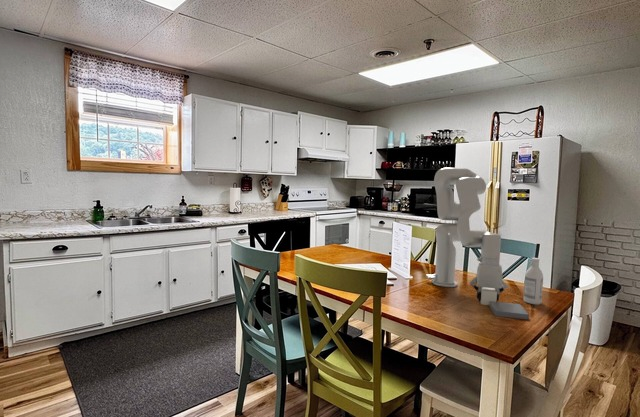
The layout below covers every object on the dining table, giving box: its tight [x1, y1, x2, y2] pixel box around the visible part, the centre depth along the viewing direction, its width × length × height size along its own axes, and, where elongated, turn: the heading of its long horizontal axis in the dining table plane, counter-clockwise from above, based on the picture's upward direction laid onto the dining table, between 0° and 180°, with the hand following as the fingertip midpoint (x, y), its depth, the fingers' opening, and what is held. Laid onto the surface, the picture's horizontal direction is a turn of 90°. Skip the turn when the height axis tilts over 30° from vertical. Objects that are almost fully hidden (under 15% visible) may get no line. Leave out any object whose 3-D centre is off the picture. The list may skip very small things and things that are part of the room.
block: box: [479, 287, 498, 306], centre depth 158 cm, size 6×6×6 cm
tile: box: [488, 301, 530, 320], centre depth 147 cm, size 12×12×2 cm
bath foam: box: [523, 257, 544, 305], centre depth 160 cm, size 7×7×20 cm
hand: (487, 300), depth 159 cm, fingers closed on block, 6 cm apart
